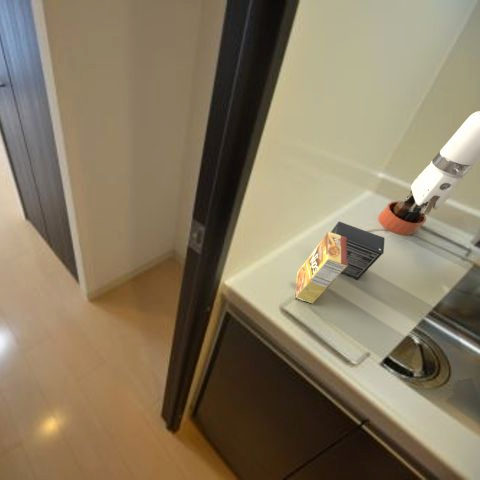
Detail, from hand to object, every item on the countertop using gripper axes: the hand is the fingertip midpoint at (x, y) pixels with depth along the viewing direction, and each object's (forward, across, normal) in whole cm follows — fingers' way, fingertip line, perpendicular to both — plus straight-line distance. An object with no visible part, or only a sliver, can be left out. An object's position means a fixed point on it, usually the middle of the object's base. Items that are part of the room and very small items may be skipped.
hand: (404, 216), depth 94 cm
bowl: (+3, 0, 0) cm, 3 cm away
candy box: (+3, -36, +25) cm, 44 cm away
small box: (+3, -24, +17) cm, 29 cm away
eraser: (0, 0, 0) cm, 0 cm away
